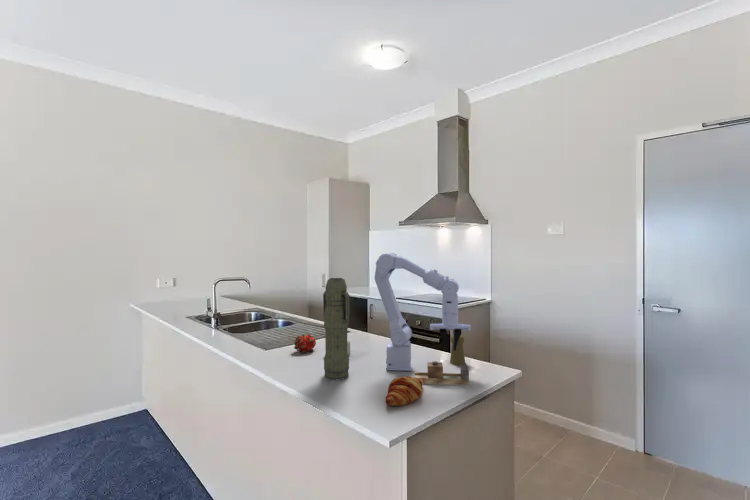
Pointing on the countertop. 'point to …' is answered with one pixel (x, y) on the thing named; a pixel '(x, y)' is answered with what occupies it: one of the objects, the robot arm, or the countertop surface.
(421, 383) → the croissant
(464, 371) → the rail
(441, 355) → the countertop surface
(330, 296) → the thermos
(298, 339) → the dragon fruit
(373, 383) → the countertop surface
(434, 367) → the carriage
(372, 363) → the countertop surface
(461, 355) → the cork
